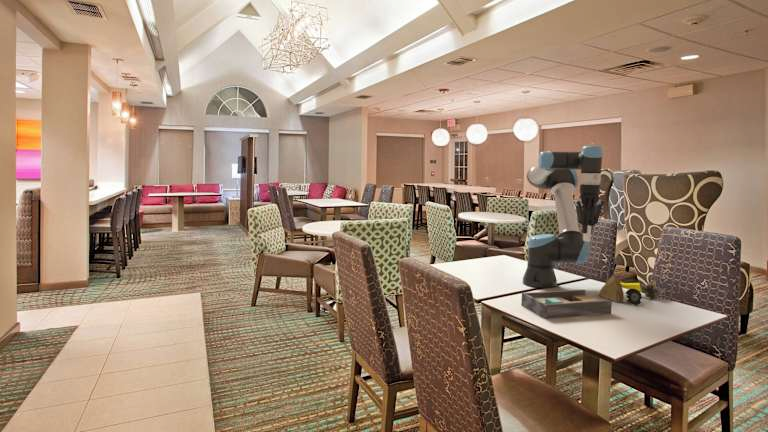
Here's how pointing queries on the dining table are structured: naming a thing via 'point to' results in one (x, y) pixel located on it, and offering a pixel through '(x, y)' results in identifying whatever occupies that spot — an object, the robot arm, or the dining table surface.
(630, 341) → the dining table surface
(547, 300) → the block
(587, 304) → the trap board
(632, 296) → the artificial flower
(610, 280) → the rock
